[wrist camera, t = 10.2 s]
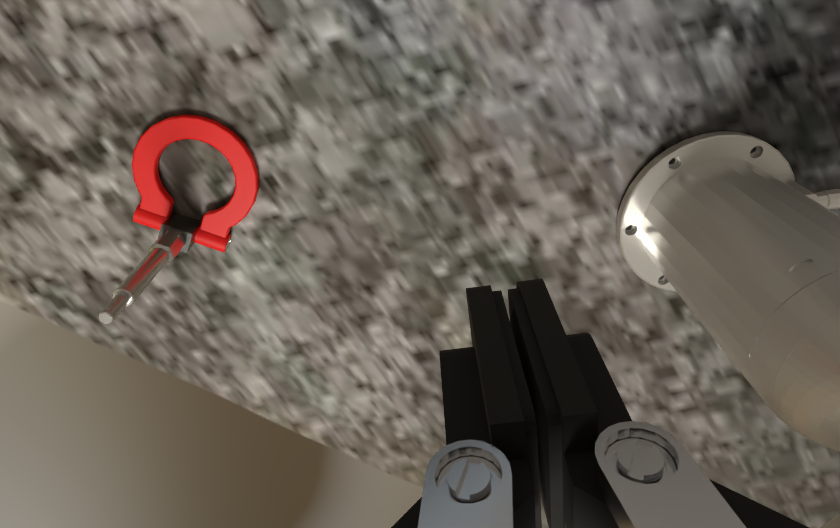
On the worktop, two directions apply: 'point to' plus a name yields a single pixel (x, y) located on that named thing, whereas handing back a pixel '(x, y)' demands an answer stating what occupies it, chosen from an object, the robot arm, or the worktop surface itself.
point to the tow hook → (159, 204)
